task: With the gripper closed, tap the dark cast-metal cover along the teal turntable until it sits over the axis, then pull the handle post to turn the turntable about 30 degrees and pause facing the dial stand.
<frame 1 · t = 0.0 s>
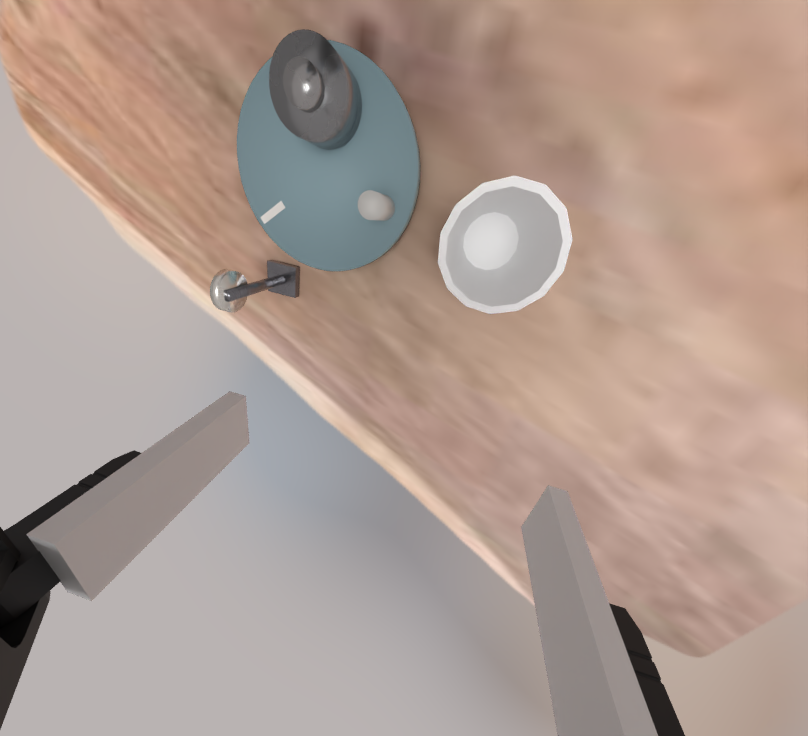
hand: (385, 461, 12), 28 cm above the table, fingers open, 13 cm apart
cover: (327, 105, 28), point 3 cm above the table, touching turntable
turntable: (317, 170, 29), point 4 cm above the table, hinge at 0.0°, touching cover
foam cup: (489, 241, 33), on the table
dial stand: (285, 278, 40), on the table
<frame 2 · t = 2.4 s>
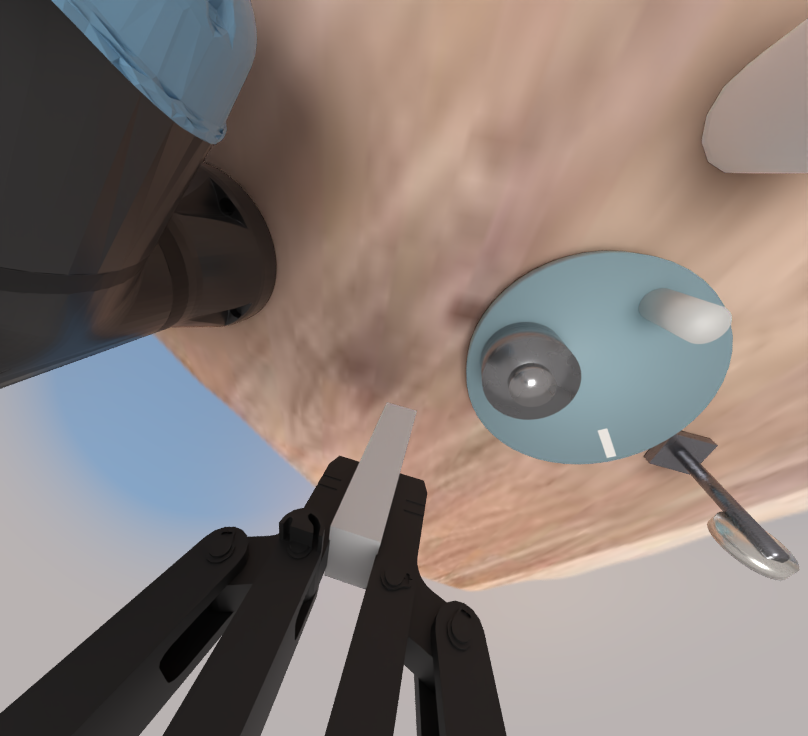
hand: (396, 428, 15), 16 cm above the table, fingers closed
cover: (521, 360, 26), point 3 cm above the table, touching turntable
turntable: (591, 385, 24), point 4 cm above the table, hinge at 0.0°, touching cover
foam cup: (761, 115, 18), on the table
dial stand: (675, 447, 29), on the table
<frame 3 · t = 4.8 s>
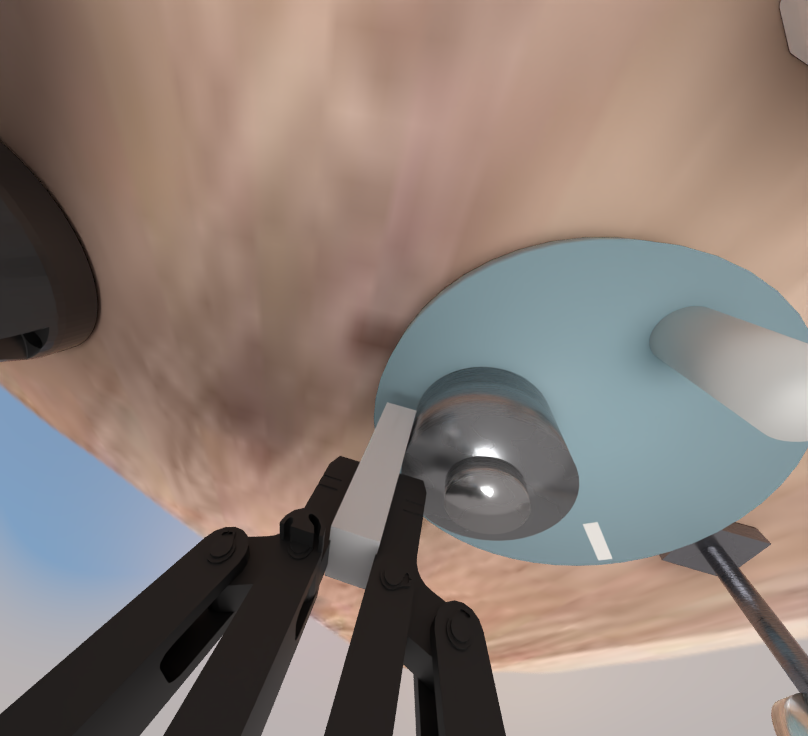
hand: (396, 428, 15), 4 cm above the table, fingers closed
cover: (480, 425, 15), point 3 cm above the table, touching gripper
turntable: (567, 469, 14), point 4 cm above the table, hinge at 0.0°
dial stand: (702, 537, 19), on the table
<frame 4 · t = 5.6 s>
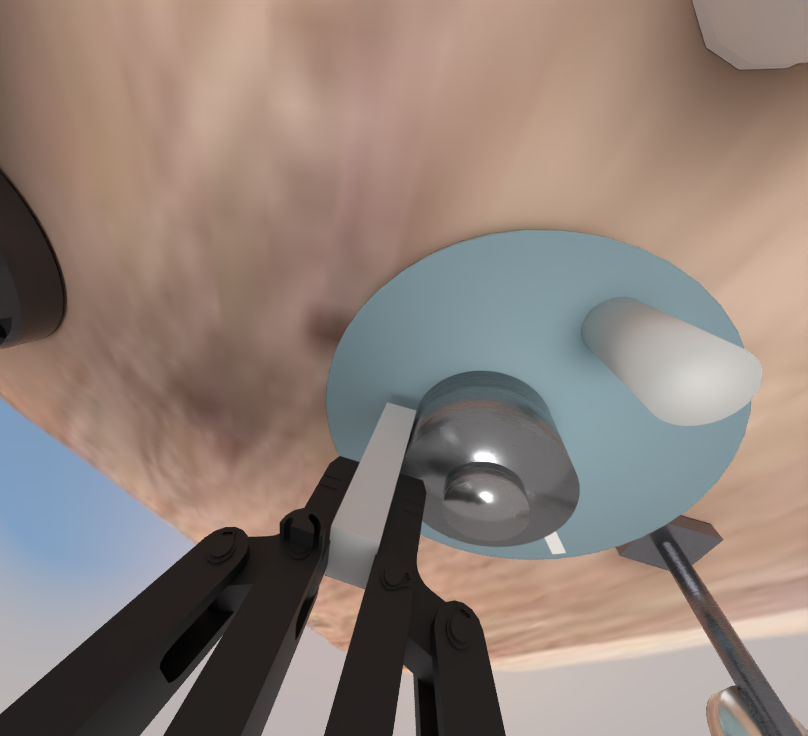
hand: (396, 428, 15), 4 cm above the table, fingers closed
cover: (480, 429, 15), point 3 cm above the table, touching gripper, turntable
turntable: (507, 460, 14), point 4 cm above the table, hinge at 0.0°, touching cover
dial stand: (659, 533, 19), on the table
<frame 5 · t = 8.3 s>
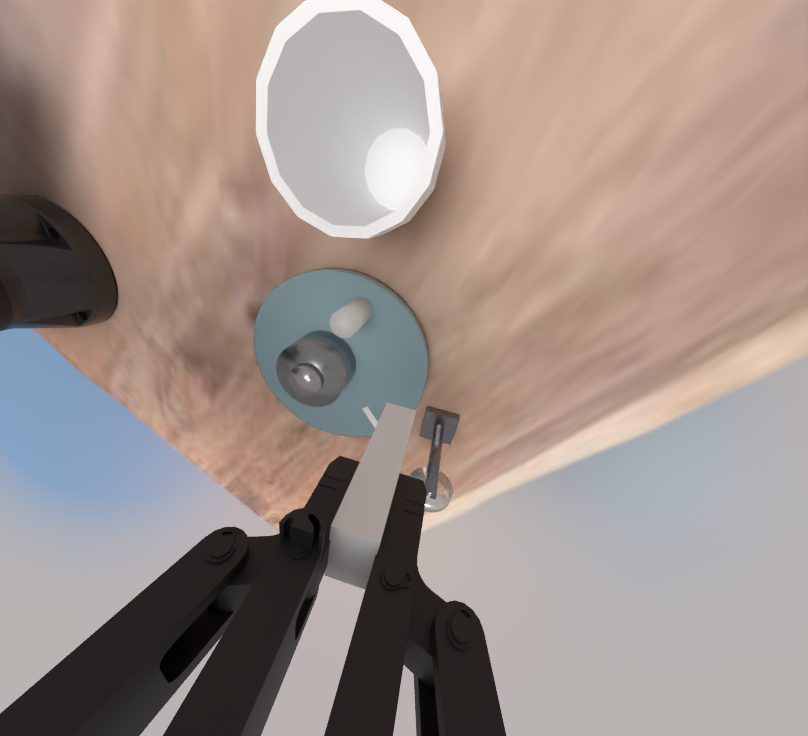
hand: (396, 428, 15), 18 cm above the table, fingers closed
cover: (325, 360, 32), point 3 cm above the table, touching turntable
turntable: (331, 371, 31), point 4 cm above the table, hinge at 0.0°, touching cover
foam cup: (399, 173, 26), on the table
dial stand: (439, 423, 36), on the table
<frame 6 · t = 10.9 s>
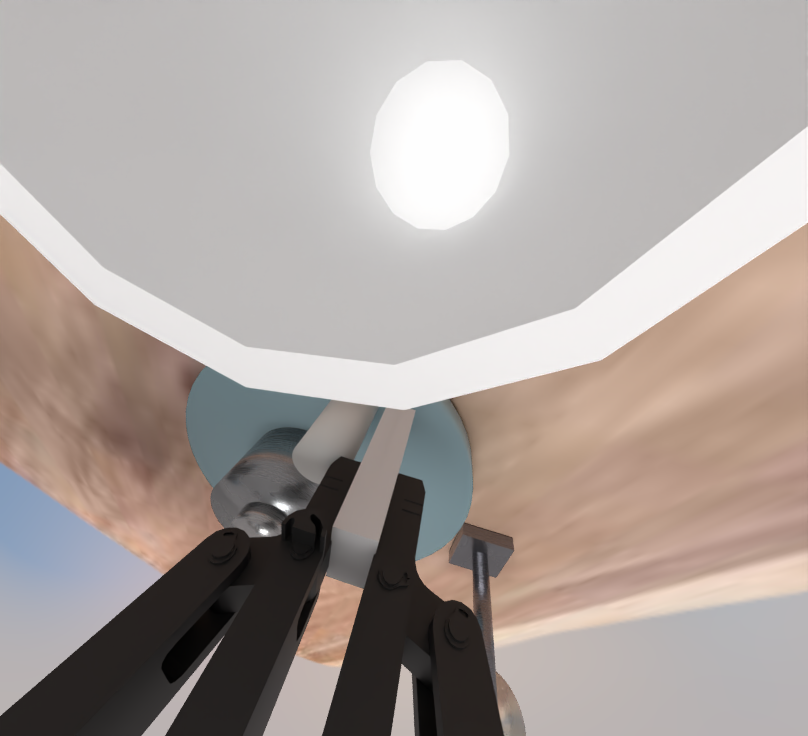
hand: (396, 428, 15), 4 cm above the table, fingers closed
cover: (303, 468, 20), point 3 cm above the table, touching turntable
turntable: (311, 494, 18), point 4 cm above the table, hinge at 2.0°, touching cover
foam cup: (438, 157, 13), on the table
dial stand: (479, 544, 24), on the table
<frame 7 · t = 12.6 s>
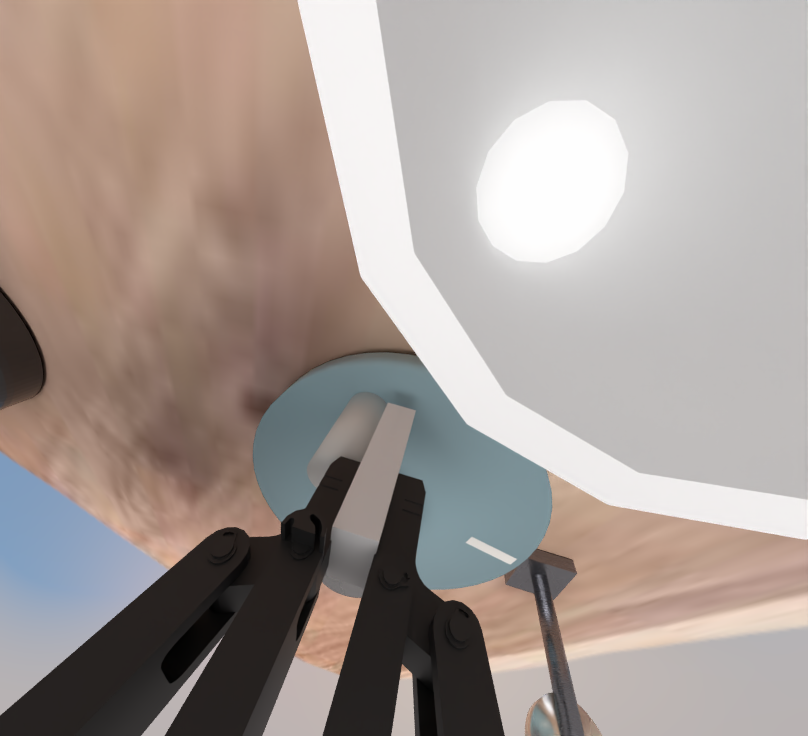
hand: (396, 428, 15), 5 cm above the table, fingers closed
cover: (372, 501, 20), point 3 cm above the table, touching turntable
turntable: (384, 520, 18), point 4 cm above the table, hinge at 36.3°, touching cover, gripper
foam cup: (542, 191, 13), on the table
dial stand: (536, 566, 24), on the table
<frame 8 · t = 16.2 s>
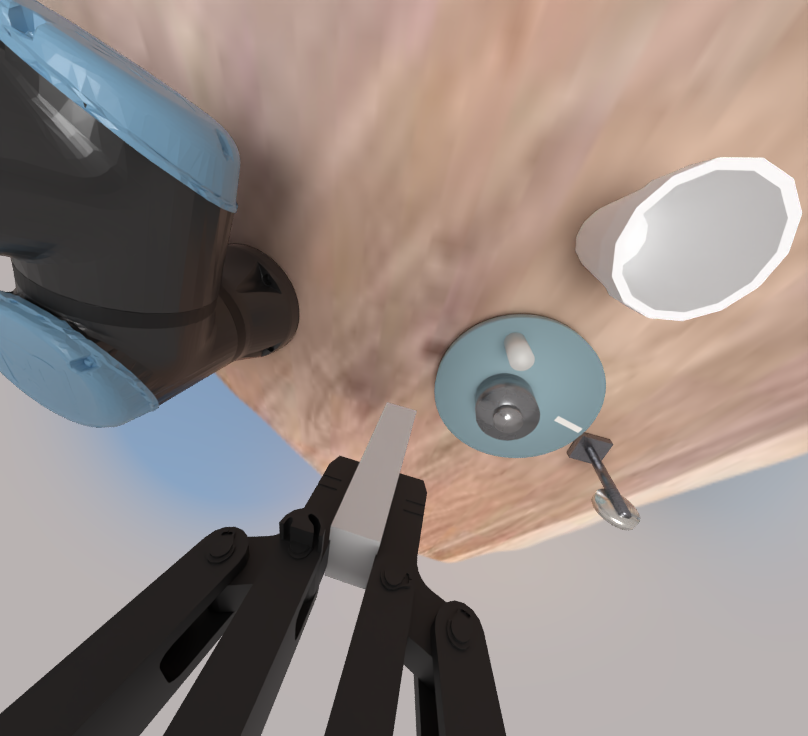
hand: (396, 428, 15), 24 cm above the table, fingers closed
cover: (503, 397, 37), point 3 cm above the table, touching turntable
turntable: (516, 403, 35), point 4 cm above the table, hinge at 36.4°, touching cover
foam cup: (608, 238, 30), on the table
dial stand: (587, 446, 40), on the table
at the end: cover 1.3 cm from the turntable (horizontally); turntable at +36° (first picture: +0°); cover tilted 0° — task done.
